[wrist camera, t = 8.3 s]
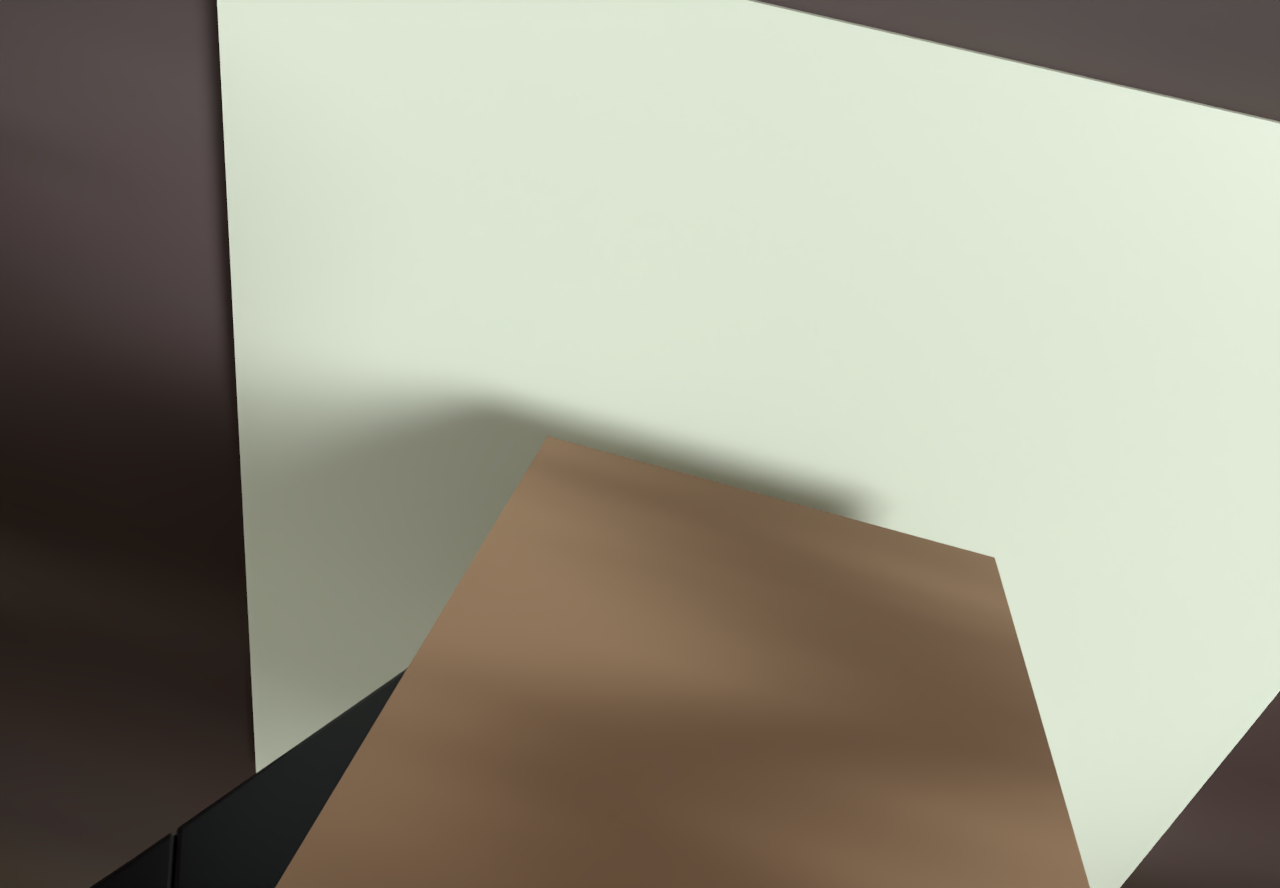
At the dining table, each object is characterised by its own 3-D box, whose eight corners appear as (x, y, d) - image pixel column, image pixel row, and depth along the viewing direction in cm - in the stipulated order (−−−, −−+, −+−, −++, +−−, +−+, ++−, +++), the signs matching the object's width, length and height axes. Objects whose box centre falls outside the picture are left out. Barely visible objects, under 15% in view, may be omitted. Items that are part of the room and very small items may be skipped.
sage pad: (1631, 203, 8) (1668, 213, 8) (1014, 987, 15) (1019, 1011, 15) (233, -121, 9) (210, -124, 9) (268, 761, 16) (256, 778, 16)
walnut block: (994, 557, 9) (1212, 1311, 4) (847, 842, 12) (863, 1529, 7) (547, 435, 10) (214, 986, 4) (497, 738, 12) (249, 1315, 7)
